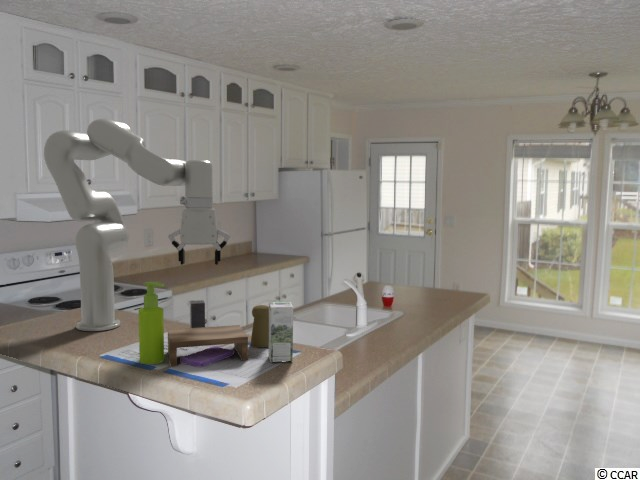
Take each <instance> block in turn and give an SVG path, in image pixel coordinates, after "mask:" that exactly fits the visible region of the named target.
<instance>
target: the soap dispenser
mask: <svg viewBox="0 0 640 480" xmlns="http://www.w3.org/2000/svg"><path fill="white" fill-rule="evenodd" d="M143 286H146V293H145V295H144V294H143V307H141V308H139V309H138V336H139V337H138V341H139V342H138V343H139V344H138V345H139V346H138V347H139V363H141V364H142V365H143V364H144V365H155V364H160V363H162V362H164V361H165V343H164V342H165V340H164V339H165V337H164V335H165V331H164V329H165V328H164V308H163V307H160V306H159V295H158V294H156V293H155V287H156V288H162V287H165V286H166V285H165V283H163V282H160V281H145V282H143Z"/></svg>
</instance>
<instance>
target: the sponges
mask: <svg viewBox="0 0 640 480" xmlns="http://www.w3.org/2000/svg"><path fill="white" fill-rule="evenodd" d="M234 354H235V349H230V348H224V347H219V346H216V345H212V346H210V347H208V348H205V349H202V350H199V351H195V352H192V353H189V354H185V355H184V356H180V363H182V364H186V365H190V366H194V367H197V368H203V367H206V366H209V365H211V364H213V363H216V362H219V361H221V360H224V359H226V358H229V357H232V356H233V355H234Z"/></svg>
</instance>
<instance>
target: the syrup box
mask: <svg viewBox="0 0 640 480" xmlns="http://www.w3.org/2000/svg"><path fill="white" fill-rule="evenodd" d="M268 307H269V347H268V358H269V362H270V364H273V363H272V362H282V361H294V360H293V359H294V358H293V356H294V355H293V354H294V352H293V351H294V348H293V347H294V306H293V304H292V302H291V301H285V302H284V301H283V302H282V301H277V302H275V301H274V302H269V303H268Z"/></svg>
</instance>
